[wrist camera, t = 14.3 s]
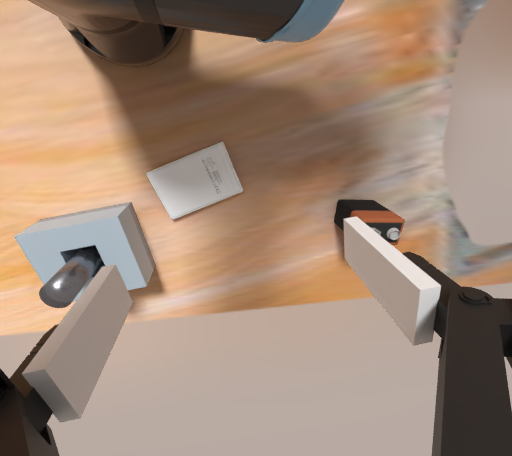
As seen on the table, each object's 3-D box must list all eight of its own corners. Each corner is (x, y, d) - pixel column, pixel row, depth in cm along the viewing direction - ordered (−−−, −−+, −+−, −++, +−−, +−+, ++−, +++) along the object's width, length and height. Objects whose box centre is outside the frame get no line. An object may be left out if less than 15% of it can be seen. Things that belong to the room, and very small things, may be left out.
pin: (81, 240, 42) (33, 287, 32) (104, 236, 42) (64, 280, 32) (91, 260, 44) (48, 310, 33) (113, 255, 44) (77, 304, 33)
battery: (337, 198, 46) (365, 221, 37) (374, 199, 47) (410, 221, 38) (332, 222, 48) (358, 249, 39) (368, 222, 49) (402, 248, 40)
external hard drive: (148, 171, 41) (223, 140, 41) (173, 217, 45) (243, 189, 44) (145, 173, 40) (223, 141, 39) (172, 220, 43) (244, 192, 43)
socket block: (41, 219, 42) (14, 236, 36) (131, 202, 42) (117, 216, 37) (75, 281, 47) (56, 304, 41) (155, 265, 47) (146, 286, 42)
